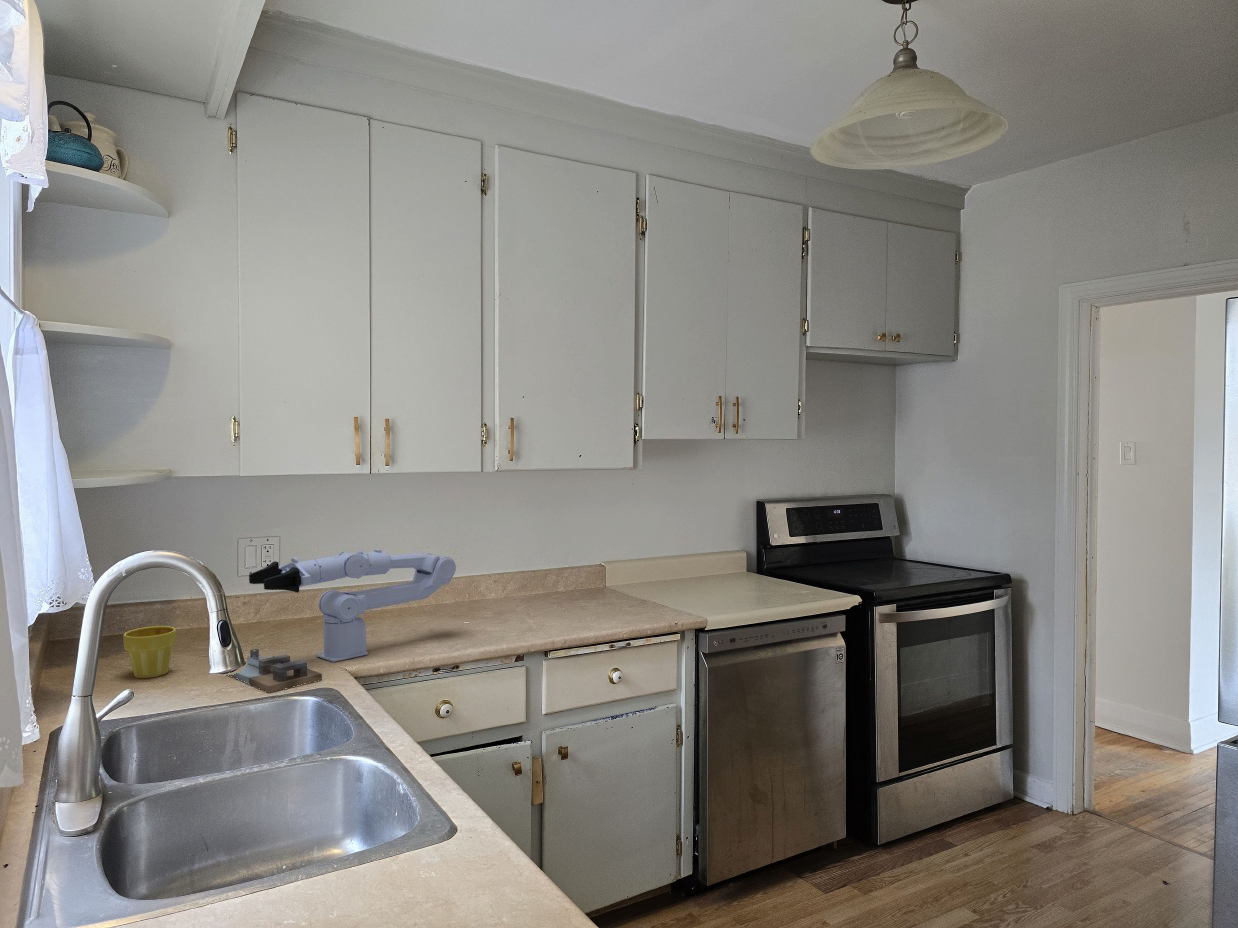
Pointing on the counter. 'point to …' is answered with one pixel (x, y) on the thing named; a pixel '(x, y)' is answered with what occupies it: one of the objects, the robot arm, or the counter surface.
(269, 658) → the door and jamb
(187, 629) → the counter surface
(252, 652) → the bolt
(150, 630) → the plant pot
